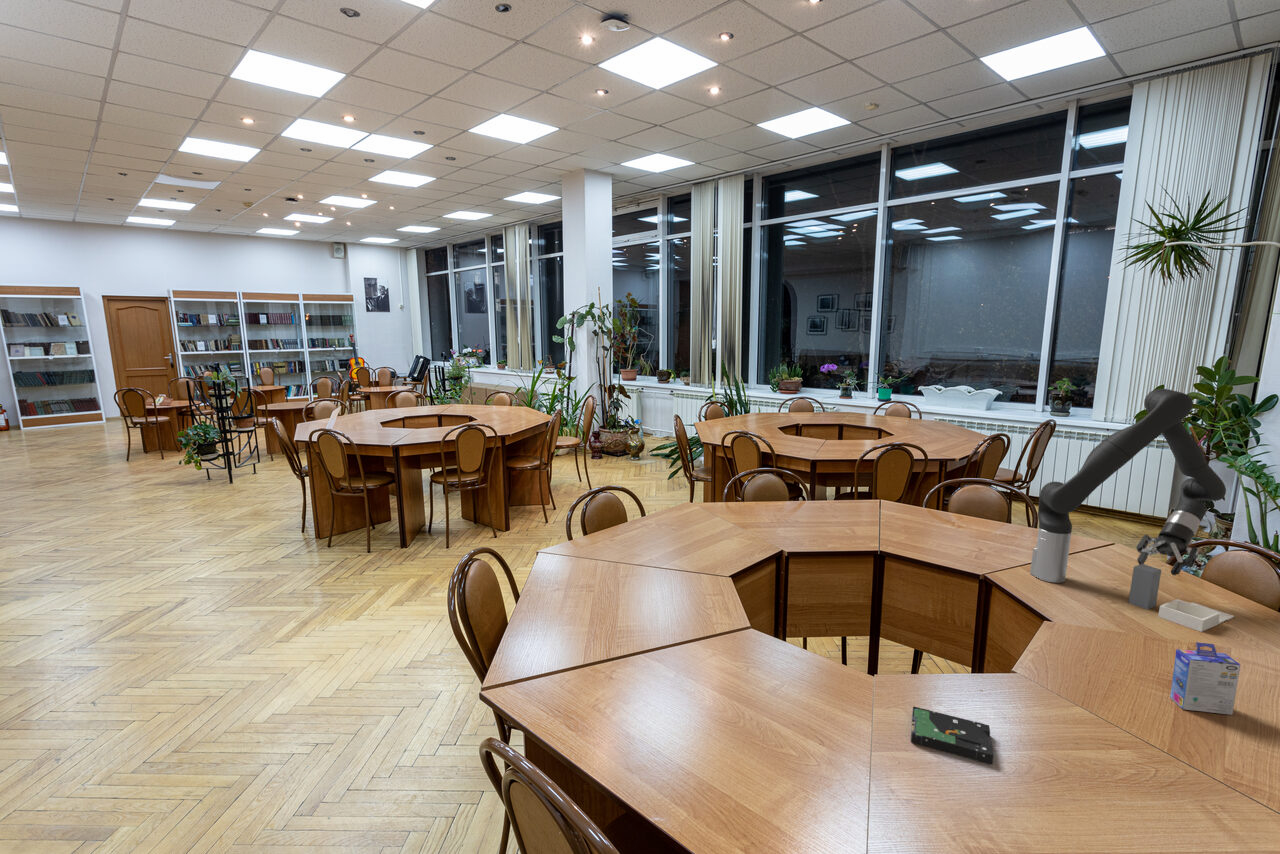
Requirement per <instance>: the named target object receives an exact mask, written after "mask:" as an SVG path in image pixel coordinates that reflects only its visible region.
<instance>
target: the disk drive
mask: <svg viewBox="0 0 1280 854" xmlns="http://www.w3.org/2000/svg"><path fill="white" fill-rule="evenodd" d="M911 715H912V716H911V730H910V731H911V733H910V743H911V744H915V745H918V746H922V747H926V748H930V749H933V750H937V751H940V752H945V753H948V754H951V755H954V756H955V755H956V756H959V757H962V758H967V759H970V760H973V761H976V762H980V763H984V764H987V765H993V763H994V762H993V761H994V750H993V743H992V737H991V728H990V725H988V724H986V723H982V722H978V721H973V720H970V719H965V718H962V717H957V716H954V715H950V714H946V713H942V712H938V711H933V710H930V709H925V708H921V707H917V706H913V707H912V714H911Z"/></svg>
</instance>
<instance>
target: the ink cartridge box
mask: <svg viewBox="0 0 1280 854" xmlns="http://www.w3.org/2000/svg"><path fill="white" fill-rule="evenodd" d="M1195 647H1196V650H1190V649H1188V650H1187V649H1178V648H1177V649H1176V650H1175V657H1174V664H1173V666H1174V667H1173V673H1172V681H1171V686H1170V687H1171V688H1170V689H1171V690H1170V696H1169V698H1170V699H1171V700H1172V701H1173V702H1174V703H1175V704H1176V705H1178V707H1179V708H1180V709H1182V710H1186V711H1197V712H1205V713H1213V714H1221V715H1228V716H1229V715H1230V716H1232V715H1233V712H1234V706H1235V701H1236V695H1237V689H1238V688H1237V687H1238V683H1239V676H1240V671H1241V666H1242V665H1241V663H1239V662H1237V661H1236V660H1235V659H1233V658H1232V657H1231V656H1229V655H1228V654H1226V653H1224V652H1217V650H1216V647H1215V644H1214V643H1207V642H1206V643H1205V642H1197V641H1196V642H1195ZM1203 647H1204V648H1205V647H1207V648H1210V649H1211V650H1206V649H1201V648H1203Z"/></svg>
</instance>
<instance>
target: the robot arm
mask: <svg viewBox="0 0 1280 854" xmlns="http://www.w3.org/2000/svg"><path fill="white" fill-rule="evenodd" d="M1143 403H1144V408H1145V410H1146V412H1147V414H1146V415H1145V416H1144V417H1142V419H1140V420H1139V421H1138V422H1135V423H1134V424H1131V425H1129V426H1127V427H1125V428H1122V429H1120V430H1117V431H1115V432H1114V433H1112V434H1110V435H1108V436H1107V437H1106V438H1104V439H1103V440H1102V441H1101V442H1100V443H1098V444H1097V445H1096V446H1095V447H1094V448H1093V449H1092V450H1091V451H1090V452H1089V454H1088V455H1087V457H1086V459H1085V460H1084V463H1083V465H1082V466H1081V468H1080V469H1079V471H1078V472H1077V473H1076V474H1075V475H1073V477H1072V478H1070V479H1068V480H1067V481H1066V482H1065V483H1063V482H1062V481H1061V482H1060V481H1050V482H1047V483H1046V484H1044V485H1043V486H1042V488H1041V490H1040V492H1039V497H1038V508H1037V510H1038V511H1037V518H1038V530H1037V531H1038V532H1037V539H1036V546H1035V547H1033V549H1032V555H1031V564H1030V573H1029V574H1030V575H1032V576H1033V577H1034V578H1036V577H1037V579H1038V578H1039V579H1038V580H1041V581H1044V582H1049V583H1055V584H1056V583H1057V584H1059V583H1064V582H1066V576H1067V569H1068V560H1069V554H1070V545H1071V538H1072V531H1073V530H1072V529H1073V523H1072V522H1071V519H1070V513H1072V512H1073V511H1076V509H1077V508H1079V506H1081V505H1082V504H1083V502H1085V500H1087V498H1089V496H1091V494H1092V493H1093V492H1094V491H1095V490H1096V489H1097V488H1098V487H1100V485H1102V484H1103V483H1104V482H1105V481H1107V480H1108V479H1109V478H1110V477H1111V476H1112V475H1114V474H1115V473H1116V472H1117V471H1118V470H1120V469H1122V467H1124V466H1125V465H1126V464H1127V463H1128V462H1130V461H1131V460H1132V459H1133V458H1134V457H1135V456H1136V455H1137V454H1138V453H1140V452H1141V451H1142V450H1144V449H1145V447H1147V446H1148V445H1149V444H1151V443H1152V442H1153V441H1155V439H1157V438H1158V437H1159V436H1160V435H1162V436H1163V437H1164V439H1165V441H1166V443H1167V445H1168V446H1169V448H1170V450H1171V453H1172V455H1173V457H1174V459H1175V463H1176V464H1177V466H1178V468H1179V470H1180V472H1181V474H1182V475H1184V476H1185V477H1189V478H1187V479H1186V480H1184V481H1183V482H1182V483H1181V485H1180V493H1179V499H1178V504H1177V505H1176V506H1175V508H1174V510H1173V512H1172V513H1171V514H1170V515H1169V517H1168V518H1167V520H1166V521H1165V523H1164V525H1163V527H1162V528H1161V530H1160V532H1159V533H1158V535H1157V537H1155V538H1154V537H1151V536H1149V534H1144V535H1143V536H1142V538H1141V539H1140V541H1139V542H1137V545H1136V547H1135V549H1136V550H1137V552H1138V554H1139V555H1138V557H1137V559H1136V560H1137V563H1138V565H1141V564H1144V565H1145V562H1146V561H1147V560H1148V557H1149V556H1152V555H1157V554H1159V555H1165V556H1168V557H1171V558H1172V557H1175V558H1176V560H1177V561H1176V562H1175V563H1174V565H1173V566H1172V568H1171V569H1170V570H1171V571H1170V573H1171V575H1172V576H1176V575H1180V572H1182V569H1183V567H1188V568H1193V567H1194V565H1195V563H1196V561H1197V559H1198V556H1199V555H1200V554H1199V553H1200V552H1199V549H1198V548H1197V547H1196V546H1193V547H1188V546H1189V545H1190V543H1191V542H1192V540H1193V539H1194V536H1195V535H1196V534H1197V531H1198V530H1199V527H1200V524H1201V523H1202V521H1203V519H1204V518H1205V516H1206V514H1207V512H1208V511H1207V510H1208V509H1207V506H1206V504H1204V503H1203V502H1201V501H1208V502H1209V501H1212V502H1215V501H1216V502H1218V501H1221V500H1223V499H1224V498H1225V495H1226V494H1227V493H1226V492H1227V488H1226V485H1225V483H1224V481H1223V480H1222V479H1221V477H1220V476H1219V475H1218V474H1217V473H1216V471H1214V469H1212V467H1211V466H1210V465H1209V463H1208V461H1207V459H1206V456H1205V454H1204V452H1203V450H1202V448H1201V446H1200V445H1199V443H1198V442H1197V441H1196V440H1195V438H1194V437H1193V435H1191V434H1190V432H1189V431H1188V430H1187V428H1186V427H1185V425H1184V423H1183V422H1182V420H1185V418H1186V417H1187V416H1188V415H1189V414H1190V413H1191V411H1192V409H1193V406H1194V402H1193V399H1192V397H1191V396H1190V395H1189V394H1187V393H1184V392H1181V391H1177V390H1173V389H1168V388H1156V389H1153V390H1151V391H1150V392H1148V394H1147V395H1146V396H1145V398H1144V401H1143ZM1148 545H1149V546H1148ZM1147 546H1148V547H1147ZM1186 552H1187V553H1188V556H1187V558H1186V559H1184V560H1183V558H1182V554H1184V553H1186Z"/></svg>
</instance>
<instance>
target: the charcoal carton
mask: <svg viewBox="0 0 1280 854" xmlns="http://www.w3.org/2000/svg"><path fill="white" fill-rule="evenodd" d="M1161 574H1162V569H1161V568H1157V567H1154V566H1152V565H1151V566H1150V565H1147V564H1145V563H1144V564H1141V565H1139V564H1137V565H1134V566H1133V570H1132V577H1131V584H1130V590H1129V596H1128V604H1129V605H1130V604H1131V605H1132V606H1136V607H1138V608H1141V609H1144V610H1150V609H1153V608H1155V607H1156V606H1157V600H1158V595H1159V594H1158V593H1159V587H1160V582H1161V576H1162V575H1161Z"/></svg>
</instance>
